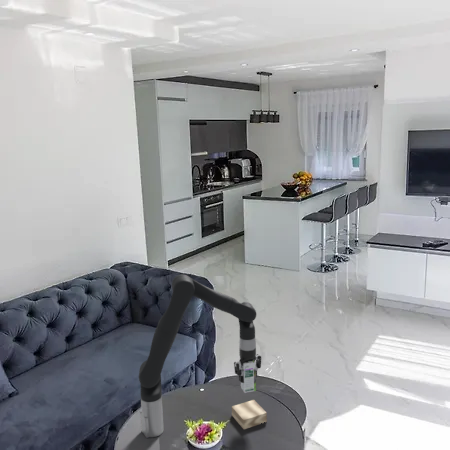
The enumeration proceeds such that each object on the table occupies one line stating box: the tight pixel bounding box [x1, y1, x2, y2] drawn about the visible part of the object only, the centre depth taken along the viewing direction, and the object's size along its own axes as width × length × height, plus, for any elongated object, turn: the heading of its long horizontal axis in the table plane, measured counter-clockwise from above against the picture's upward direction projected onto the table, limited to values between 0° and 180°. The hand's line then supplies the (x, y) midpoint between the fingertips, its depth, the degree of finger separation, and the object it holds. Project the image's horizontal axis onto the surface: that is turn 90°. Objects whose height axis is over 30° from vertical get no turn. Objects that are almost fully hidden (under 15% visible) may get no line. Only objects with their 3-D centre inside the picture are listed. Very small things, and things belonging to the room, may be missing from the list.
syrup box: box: [240, 360, 257, 394], centre depth 211 cm, size 6×6×14 cm
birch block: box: [231, 399, 268, 430], centre depth 215 cm, size 12×12×5 cm
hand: (248, 379), depth 211 cm, fingers closed on syrup box, 6 cm apart
